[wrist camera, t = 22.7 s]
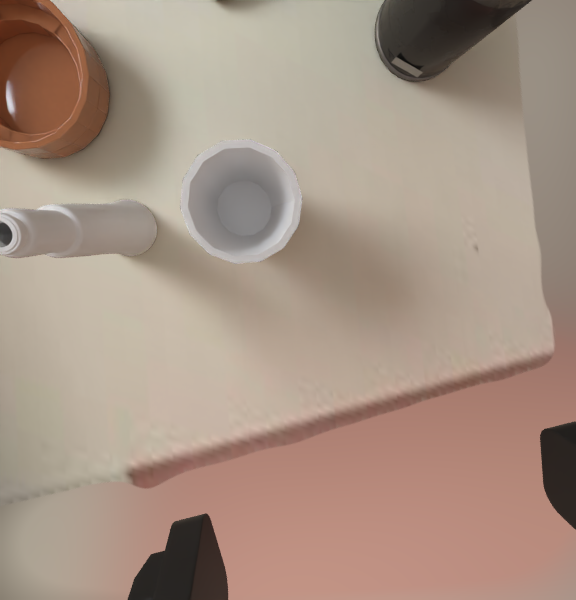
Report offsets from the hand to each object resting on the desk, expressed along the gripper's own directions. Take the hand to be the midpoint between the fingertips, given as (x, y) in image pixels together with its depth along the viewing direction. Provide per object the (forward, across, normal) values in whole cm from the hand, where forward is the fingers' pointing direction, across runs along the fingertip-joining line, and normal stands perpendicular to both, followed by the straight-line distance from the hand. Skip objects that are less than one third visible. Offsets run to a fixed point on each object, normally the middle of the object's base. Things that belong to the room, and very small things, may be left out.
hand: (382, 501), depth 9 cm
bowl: (+36, +19, -24) cm, 47 cm away
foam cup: (+36, +2, -8) cm, 37 cm away
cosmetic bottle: (+36, +15, -9) cm, 40 cm away
